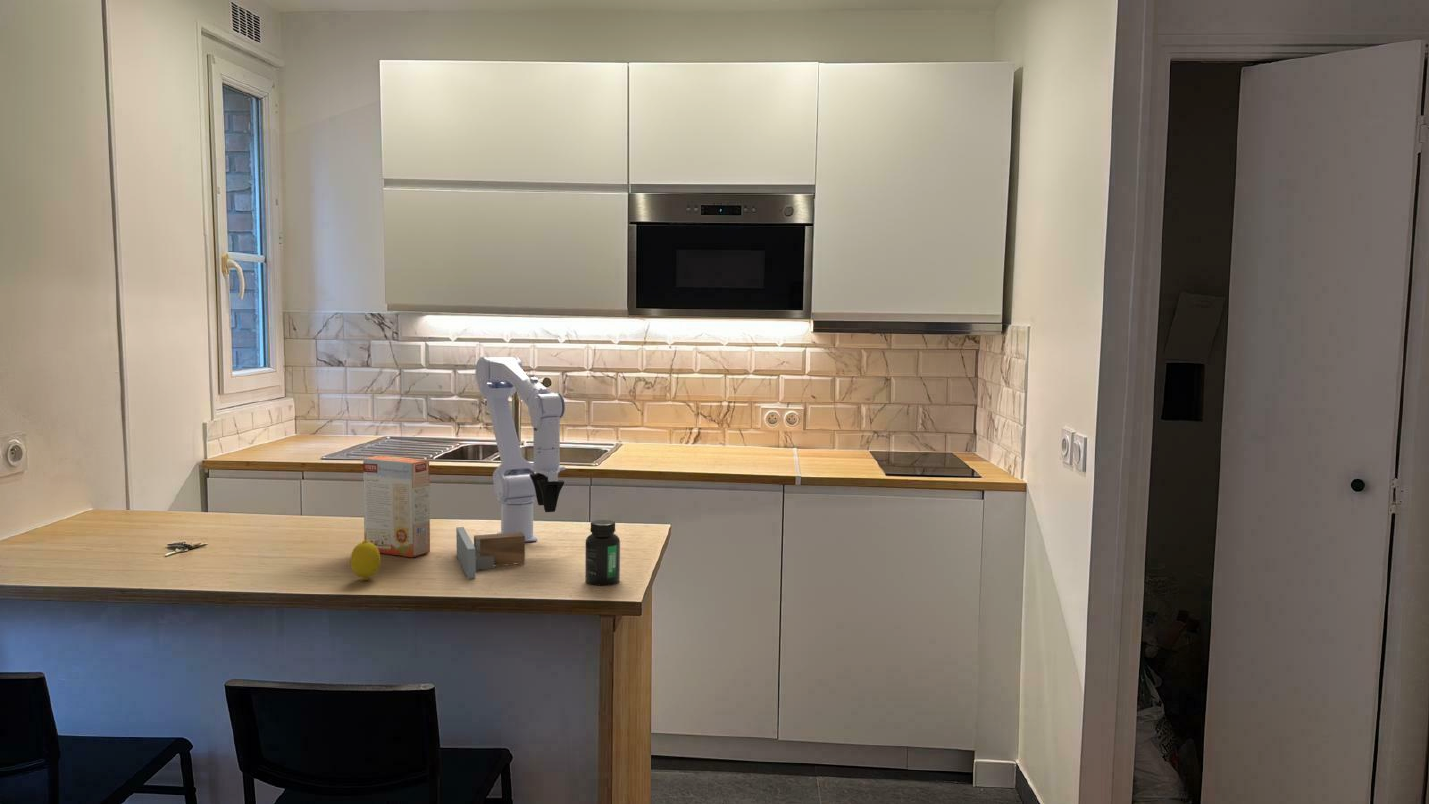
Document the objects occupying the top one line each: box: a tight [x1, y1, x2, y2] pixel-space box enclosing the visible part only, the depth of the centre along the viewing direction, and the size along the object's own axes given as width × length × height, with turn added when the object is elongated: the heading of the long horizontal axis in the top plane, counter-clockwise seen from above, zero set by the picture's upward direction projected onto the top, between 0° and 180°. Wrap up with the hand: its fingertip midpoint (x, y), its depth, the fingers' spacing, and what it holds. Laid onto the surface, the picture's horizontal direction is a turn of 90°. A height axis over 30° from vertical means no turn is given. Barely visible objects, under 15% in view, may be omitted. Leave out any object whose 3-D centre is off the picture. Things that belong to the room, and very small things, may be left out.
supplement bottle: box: [584, 519, 621, 587], centre depth 187 cm, size 7×7×12 cm
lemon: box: [350, 539, 381, 581], centre depth 185 cm, size 6×6×8 cm
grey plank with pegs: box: [455, 526, 495, 579], centre depth 198 cm, size 20×6×6 cm, turn 22°
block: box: [473, 532, 526, 566], centre depth 199 cm, size 4×10×6 cm, turn 112°
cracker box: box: [362, 455, 431, 558], centre depth 206 cm, size 14×6×21 cm, turn 65°
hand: (546, 508), depth 208 cm, fingers open, 7 cm apart
